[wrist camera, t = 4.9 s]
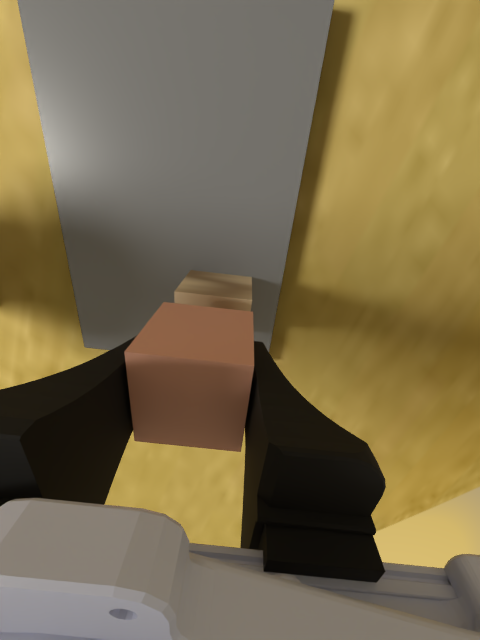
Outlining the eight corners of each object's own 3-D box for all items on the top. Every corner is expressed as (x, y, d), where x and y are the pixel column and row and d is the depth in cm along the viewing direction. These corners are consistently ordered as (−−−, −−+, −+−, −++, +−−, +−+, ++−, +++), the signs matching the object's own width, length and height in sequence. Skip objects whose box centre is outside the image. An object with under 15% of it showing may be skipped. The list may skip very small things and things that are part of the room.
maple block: (189, 324, 19) (174, 356, 15) (190, 270, 17) (174, 291, 13) (244, 330, 19) (243, 363, 15) (251, 277, 17) (252, 299, 13)
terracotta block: (165, 373, 13) (134, 440, 10) (163, 301, 11) (124, 352, 8) (243, 381, 13) (240, 451, 10) (252, 311, 12) (254, 365, 8)
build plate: (93, 339, 21) (84, 347, 20) (28, -32, 12) (7, -54, 11) (265, 358, 21) (266, 366, 20) (328, 7, 12) (336, -11, 11)
